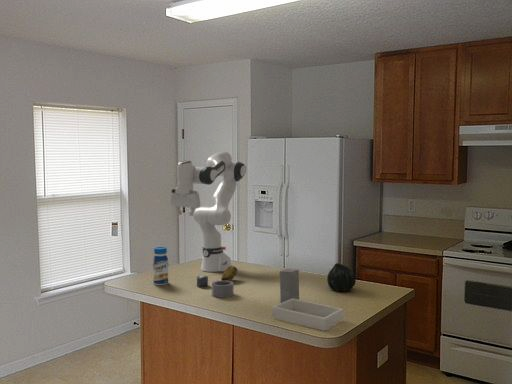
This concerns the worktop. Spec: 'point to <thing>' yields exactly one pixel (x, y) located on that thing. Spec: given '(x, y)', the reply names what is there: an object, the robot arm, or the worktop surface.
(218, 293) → the faceted grey cup
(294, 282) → the skincare box
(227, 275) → the potato
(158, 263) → the beverage bottle
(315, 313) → the frame
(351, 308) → the worktop surface
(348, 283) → the squash
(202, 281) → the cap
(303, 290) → the worktop surface
